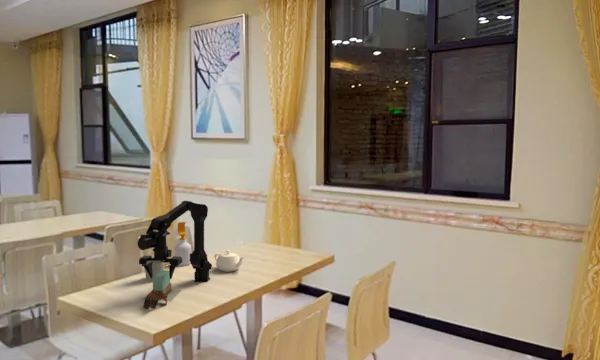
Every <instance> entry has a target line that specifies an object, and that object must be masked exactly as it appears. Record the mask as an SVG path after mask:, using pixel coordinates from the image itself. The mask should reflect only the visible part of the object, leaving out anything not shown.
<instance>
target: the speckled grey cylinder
mask: <svg viewBox="0 0 600 360" xmlns="http://www.w3.org/2000/svg"><path fill="white" fill-rule="evenodd" d="M145 256H152V258H154V253H150V254H146V255H145ZM162 261H165V260H162ZM144 270H145V272H144V273H145V281H147V282H153V278H150V276H149V274H148V272H147V271H146V269H145V268H144ZM160 270H165V263H164V262H153V263H152V272H153V277H154V276H155V275H156V274H157V273H158V272H159V271H160Z"/></svg>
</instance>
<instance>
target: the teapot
mask: <svg viewBox="0 0 600 360" xmlns="http://www.w3.org/2000/svg"><path fill="white" fill-rule="evenodd" d="M214 259H215V261H216V262H215V266H216V269H218V270H219V271H220V272H224V273H228V272H229V273H230V272H235V271H237V270H238V269H240V267H241V266H242V264H243V260H244V259H245V257H244V256H241V257H240V256H239V253H237V252H234V251H231V250H230V249H226V250H225V251H224V252H221V253H215V254H214Z"/></svg>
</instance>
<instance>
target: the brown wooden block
mask: <svg viewBox="0 0 600 360" xmlns="http://www.w3.org/2000/svg"><path fill="white" fill-rule="evenodd" d="M159 292H161V293H163V294H165V295H167V287H166V288H165V289H164V290H163V291H159ZM158 298H159V297H158ZM159 299H160V298H159Z"/></svg>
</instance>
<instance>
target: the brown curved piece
mask: <svg viewBox="0 0 600 360" xmlns="http://www.w3.org/2000/svg"><path fill="white" fill-rule="evenodd" d="M151 291H152V292H151ZM151 291H150V292H151V293H150V292H148V294H146V295H147V296H146V295H145V296H146V298H145V300H143V301H144V302H143V309H145V310H150V309H152V310H153V309H154V310H155V309H156V308H157V304H158V303H159V298H160V299H163V300H165V301H164V302H165V304H164V306H167V304H168V301H167V297H168V296H167V295H165V294H163V293H161V292H159V291H156V290H153V289H152V290H151ZM158 297H159V298H158ZM150 298H151V300H150Z"/></svg>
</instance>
